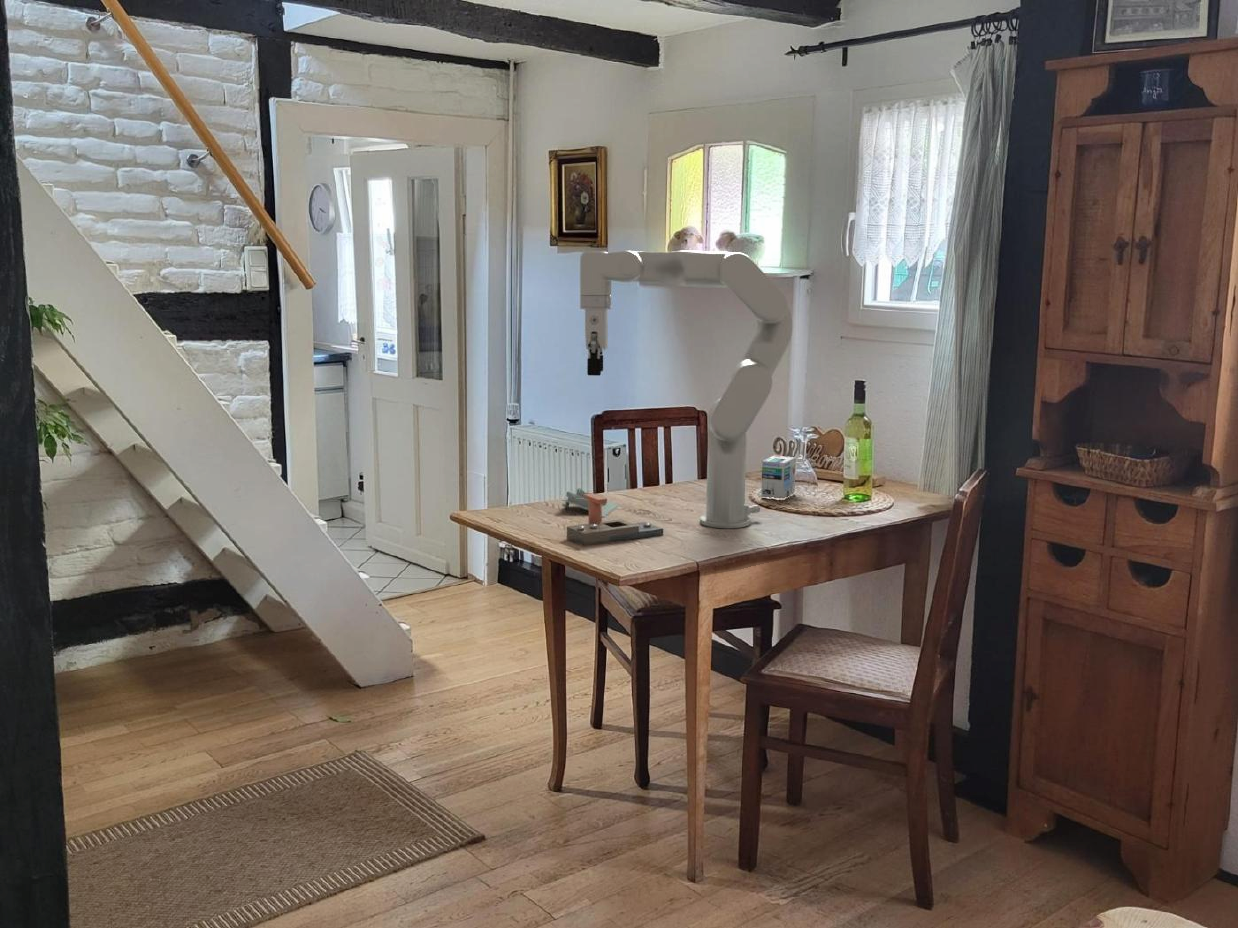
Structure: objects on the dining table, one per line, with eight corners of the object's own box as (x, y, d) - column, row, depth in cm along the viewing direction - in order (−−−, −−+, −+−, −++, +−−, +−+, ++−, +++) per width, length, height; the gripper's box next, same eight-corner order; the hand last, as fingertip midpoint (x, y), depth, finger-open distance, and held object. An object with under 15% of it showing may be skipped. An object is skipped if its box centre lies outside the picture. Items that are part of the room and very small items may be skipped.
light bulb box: (783, 501, 309) (784, 462, 307) (760, 499, 312) (761, 460, 310) (795, 494, 319) (796, 456, 317) (772, 492, 322) (773, 454, 320)
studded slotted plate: (645, 527, 279) (645, 513, 278) (663, 534, 272) (663, 520, 271) (566, 538, 267) (566, 524, 266) (583, 546, 260) (583, 531, 260)
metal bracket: (558, 493, 291) (576, 482, 305) (552, 514, 292) (570, 502, 307) (610, 512, 288) (625, 500, 302) (603, 533, 290) (619, 520, 304)
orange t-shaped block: (593, 524, 281) (593, 493, 280) (608, 530, 275) (608, 498, 274) (582, 526, 280) (582, 494, 278) (596, 532, 274) (596, 499, 272)
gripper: (609, 304, 267) (608, 377, 270) (612, 301, 284) (612, 369, 287) (577, 304, 267) (577, 376, 270) (582, 301, 284) (582, 369, 287)
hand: (595, 373), depth 279 cm, fingers open, 9 cm apart
